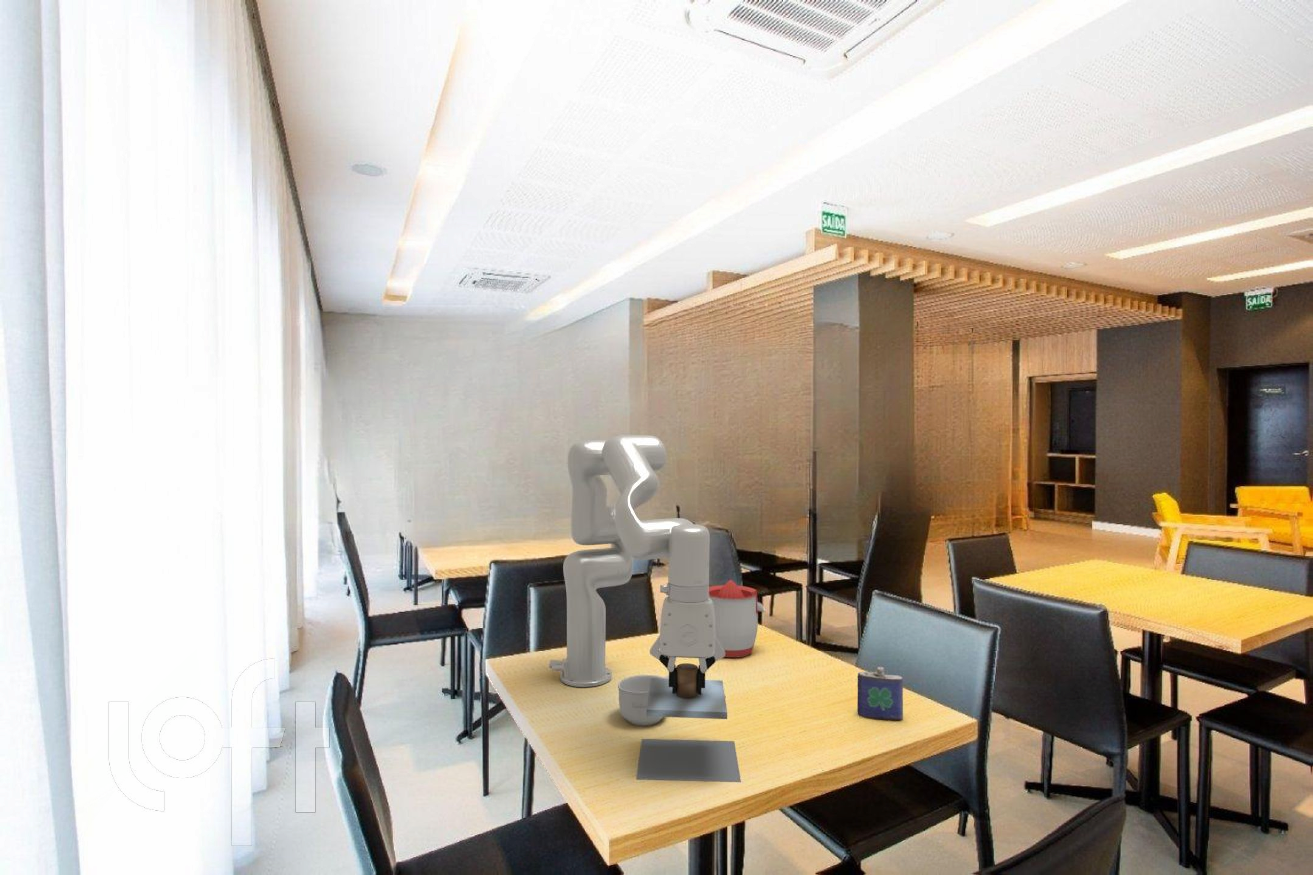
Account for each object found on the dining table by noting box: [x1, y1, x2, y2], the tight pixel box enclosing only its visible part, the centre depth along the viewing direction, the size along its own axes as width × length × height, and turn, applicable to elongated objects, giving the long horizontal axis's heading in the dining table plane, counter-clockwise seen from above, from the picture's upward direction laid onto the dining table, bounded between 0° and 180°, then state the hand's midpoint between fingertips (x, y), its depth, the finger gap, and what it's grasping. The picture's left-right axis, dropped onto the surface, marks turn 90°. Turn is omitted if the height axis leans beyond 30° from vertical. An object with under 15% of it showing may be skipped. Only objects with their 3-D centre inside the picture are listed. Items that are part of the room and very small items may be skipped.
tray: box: [635, 738, 742, 783], centre depth 118 cm, size 18×15×1 cm
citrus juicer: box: [709, 579, 766, 658], centre depth 179 cm, size 16×17×20 cm
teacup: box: [617, 674, 669, 726], centre depth 136 cm, size 14×11×8 cm
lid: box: [646, 662, 728, 720], centre depth 118 cm, size 14×14×6 cm
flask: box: [857, 666, 904, 722], centre depth 137 cm, size 9×3×11 cm, turn 74°
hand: (686, 690), depth 119 cm, fingers closed on lid, 4 cm apart
